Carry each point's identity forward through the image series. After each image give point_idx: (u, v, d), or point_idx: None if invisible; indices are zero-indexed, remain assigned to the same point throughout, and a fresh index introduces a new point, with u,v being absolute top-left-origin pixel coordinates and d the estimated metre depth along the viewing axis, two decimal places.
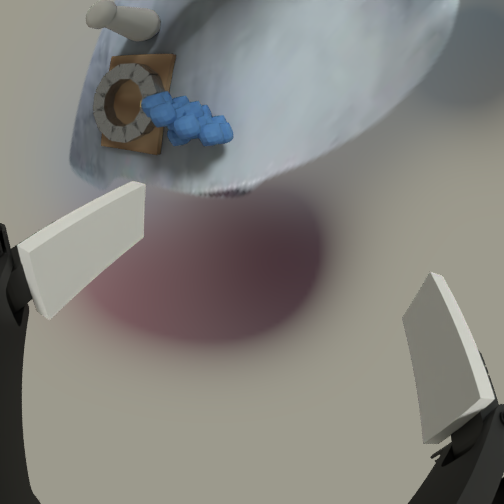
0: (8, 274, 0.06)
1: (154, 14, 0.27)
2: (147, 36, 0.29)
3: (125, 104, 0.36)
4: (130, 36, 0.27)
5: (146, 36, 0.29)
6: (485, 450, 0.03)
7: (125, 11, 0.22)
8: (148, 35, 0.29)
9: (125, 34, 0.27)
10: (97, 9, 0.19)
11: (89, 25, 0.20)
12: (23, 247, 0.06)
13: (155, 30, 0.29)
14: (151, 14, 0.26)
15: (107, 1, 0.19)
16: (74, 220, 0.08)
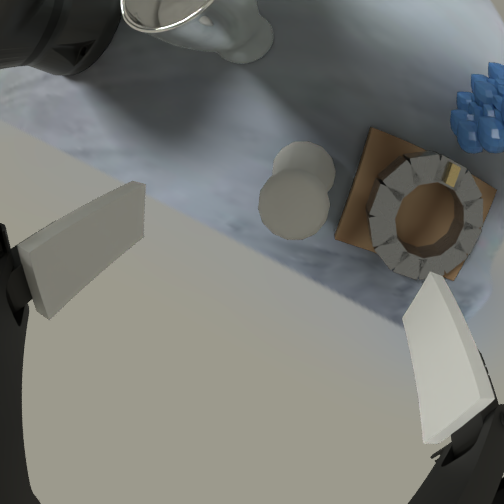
0: (8, 274, 0.06)
1: (293, 143, 0.23)
2: (332, 161, 0.23)
3: (423, 224, 0.25)
4: (330, 183, 0.22)
5: (332, 161, 0.23)
6: (485, 450, 0.03)
7: (293, 166, 0.19)
8: (331, 158, 0.23)
9: (328, 188, 0.21)
10: (287, 201, 0.15)
11: (317, 228, 0.16)
12: (23, 247, 0.06)
13: None
14: (294, 145, 0.22)
15: (272, 179, 0.16)
16: (74, 220, 0.08)
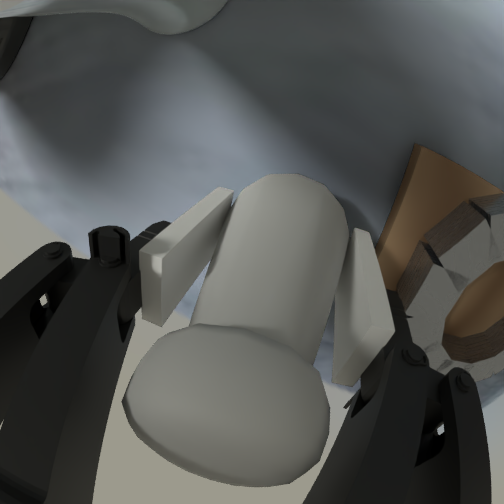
0: (124, 288, 0.07)
1: (264, 180, 0.12)
2: (344, 215, 0.12)
3: (477, 307, 0.13)
4: None
5: (344, 217, 0.12)
6: (389, 396, 0.05)
7: (242, 274, 0.07)
8: (343, 210, 0.12)
9: None
10: (187, 456, 0.04)
11: None
12: (150, 252, 0.07)
13: (325, 188, 0.12)
14: (263, 187, 0.11)
15: (139, 386, 0.04)
16: (191, 225, 0.09)
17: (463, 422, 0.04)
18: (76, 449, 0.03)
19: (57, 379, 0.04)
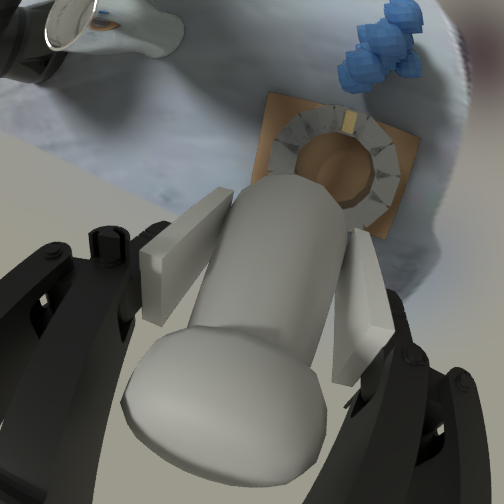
0: (124, 288, 0.07)
1: (263, 181, 0.12)
2: (343, 216, 0.12)
3: (335, 178, 0.27)
4: None
5: (342, 218, 0.12)
6: (389, 396, 0.05)
7: (240, 276, 0.07)
8: (341, 211, 0.12)
9: None
10: (185, 456, 0.04)
11: None
12: (150, 253, 0.07)
13: None
14: (262, 188, 0.11)
15: (137, 387, 0.04)
16: (191, 225, 0.09)
17: (463, 422, 0.04)
18: (75, 449, 0.03)
19: (58, 379, 0.04)
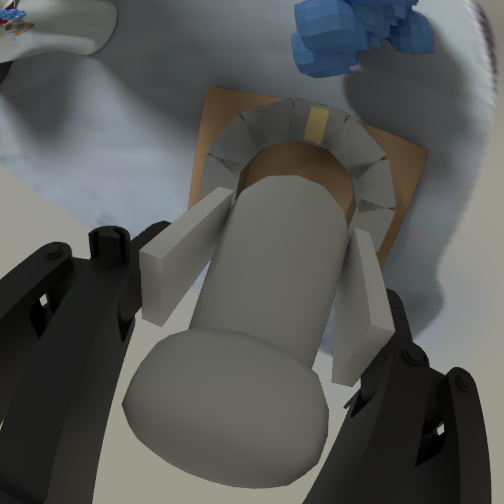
0: (124, 288, 0.07)
1: (264, 182, 0.12)
2: (344, 216, 0.12)
3: None
4: None
5: (343, 219, 0.12)
6: (389, 396, 0.05)
7: (241, 277, 0.07)
8: (342, 212, 0.12)
9: None
10: (187, 458, 0.04)
11: None
12: (150, 252, 0.07)
13: None
14: (263, 188, 0.11)
15: (139, 389, 0.04)
16: (191, 225, 0.09)
17: (463, 422, 0.04)
18: (76, 449, 0.03)
19: (57, 379, 0.04)
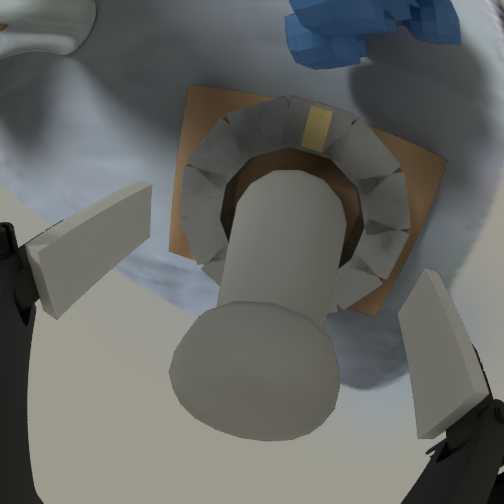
0: (15, 274, 0.06)
1: (271, 176, 0.13)
2: (342, 207, 0.13)
3: None
4: None
5: (341, 209, 0.13)
6: (480, 446, 0.03)
7: (261, 260, 0.08)
8: (340, 203, 0.13)
9: None
10: (231, 410, 0.05)
11: None
12: (31, 246, 0.06)
13: None
14: (271, 182, 0.12)
15: (191, 354, 0.06)
16: (82, 219, 0.08)
17: None
18: None
19: None
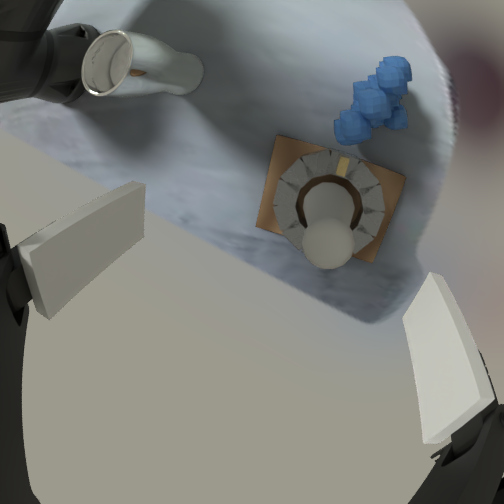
0: (8, 274, 0.06)
1: (321, 185, 0.29)
2: (352, 199, 0.29)
3: None
4: None
5: (352, 200, 0.29)
6: (485, 450, 0.03)
7: (326, 210, 0.24)
8: (351, 197, 0.29)
9: None
10: (325, 242, 0.21)
11: (345, 261, 0.22)
12: (23, 247, 0.06)
13: None
14: (322, 187, 0.28)
15: (315, 225, 0.21)
16: (74, 220, 0.08)
17: None
18: None
19: None
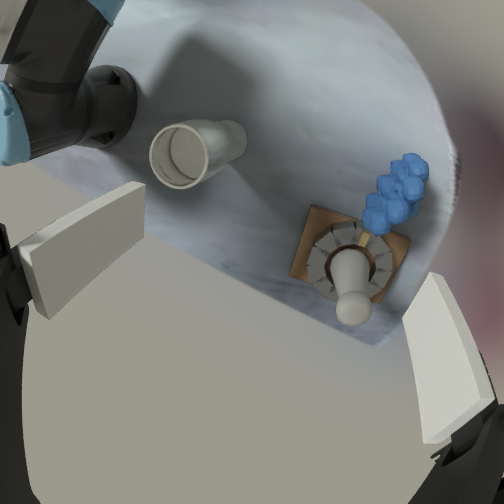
0: (8, 274, 0.06)
1: (346, 252, 0.37)
2: (368, 262, 0.37)
3: None
4: None
5: (368, 263, 0.37)
6: (485, 450, 0.03)
7: (352, 282, 0.33)
8: (368, 261, 0.37)
9: None
10: (353, 312, 0.29)
11: (364, 322, 0.30)
12: (23, 247, 0.06)
13: None
14: (347, 255, 0.36)
15: (346, 300, 0.30)
16: (74, 220, 0.08)
17: None
18: None
19: None
